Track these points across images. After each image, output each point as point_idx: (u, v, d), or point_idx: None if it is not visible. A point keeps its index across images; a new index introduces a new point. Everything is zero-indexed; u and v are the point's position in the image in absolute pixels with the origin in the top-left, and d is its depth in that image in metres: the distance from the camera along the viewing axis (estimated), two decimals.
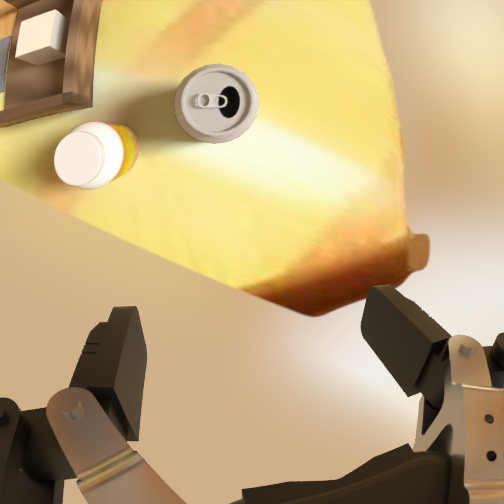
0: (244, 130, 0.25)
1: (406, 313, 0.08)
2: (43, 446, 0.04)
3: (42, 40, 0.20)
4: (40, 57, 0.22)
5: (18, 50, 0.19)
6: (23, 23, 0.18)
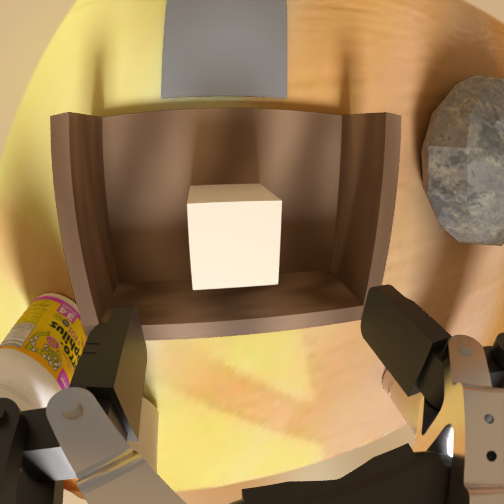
0: None
1: (406, 313, 0.08)
2: (43, 446, 0.04)
3: (209, 271, 0.17)
4: None
5: (203, 210, 0.15)
6: (274, 208, 0.16)
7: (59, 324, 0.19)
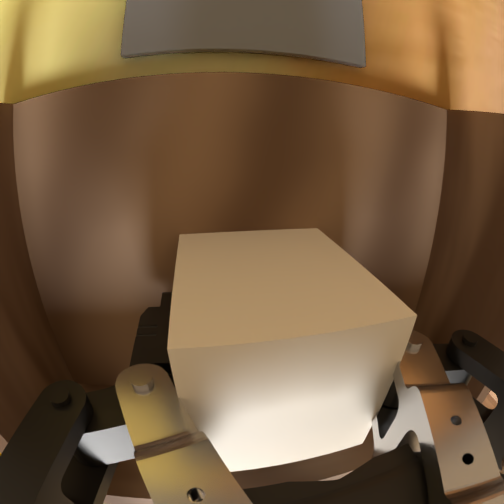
0: None
1: None
2: (105, 435, 0.05)
3: (234, 454, 0.06)
4: None
5: (216, 363, 0.05)
6: (398, 334, 0.06)
7: None
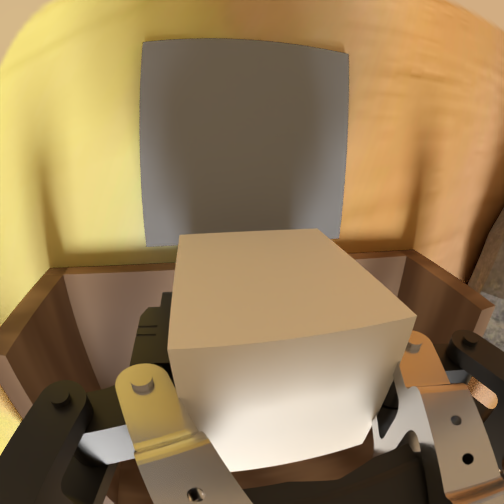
0: None
1: None
2: (105, 435, 0.05)
3: (234, 454, 0.06)
4: None
5: (217, 364, 0.05)
6: (397, 335, 0.06)
7: None
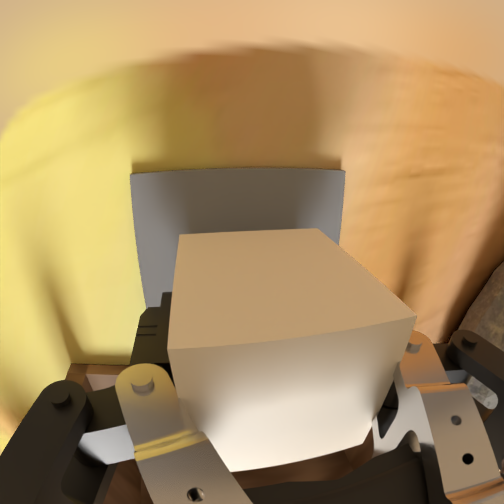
0: None
1: None
2: (105, 435, 0.05)
3: (234, 454, 0.06)
4: None
5: (217, 363, 0.05)
6: (398, 334, 0.06)
7: None
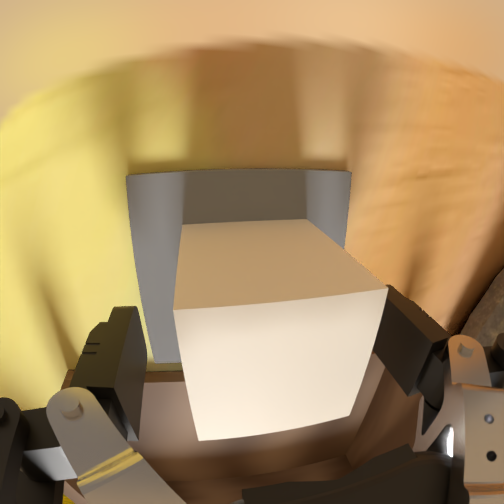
0: None
1: (406, 313, 0.08)
2: (43, 446, 0.04)
3: (230, 418, 0.08)
4: None
5: (214, 323, 0.06)
6: (371, 305, 0.07)
7: None
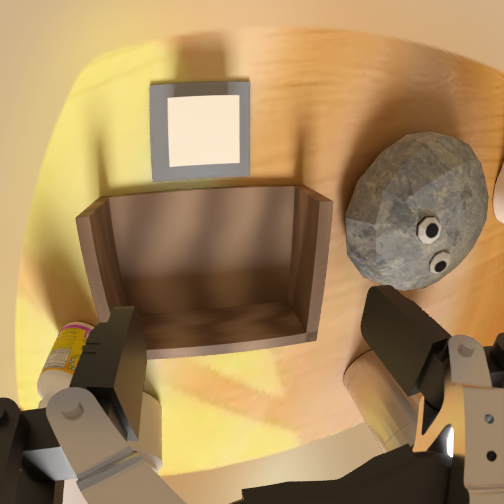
0: None
1: (406, 313, 0.08)
2: (43, 446, 0.04)
3: (183, 150, 0.20)
4: None
5: (179, 102, 0.18)
6: (233, 100, 0.19)
7: None
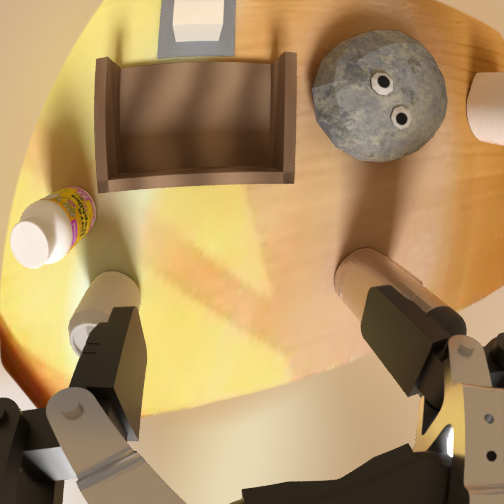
0: None
1: (406, 313, 0.08)
2: (43, 446, 0.04)
3: (183, 15, 0.22)
4: None
5: None
6: None
7: (77, 197, 0.29)
